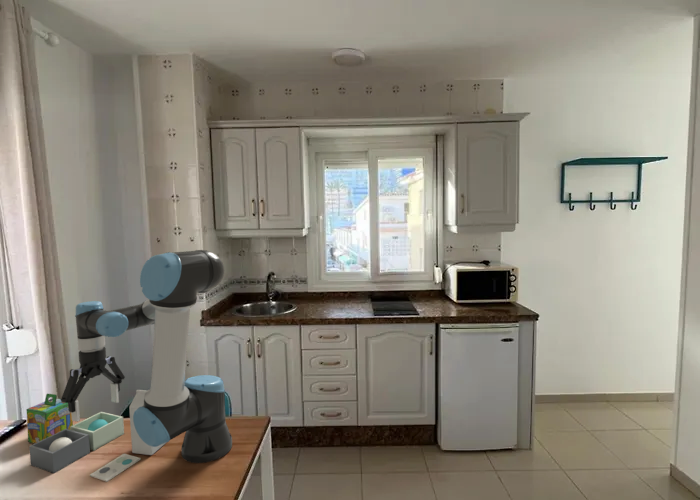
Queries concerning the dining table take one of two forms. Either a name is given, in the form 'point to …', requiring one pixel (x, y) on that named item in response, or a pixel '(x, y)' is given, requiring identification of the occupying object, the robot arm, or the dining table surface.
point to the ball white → (59, 443)
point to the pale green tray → (101, 429)
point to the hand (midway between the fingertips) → (96, 410)
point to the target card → (115, 467)
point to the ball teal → (97, 424)
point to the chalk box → (48, 418)
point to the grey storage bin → (59, 451)
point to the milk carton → (137, 442)
